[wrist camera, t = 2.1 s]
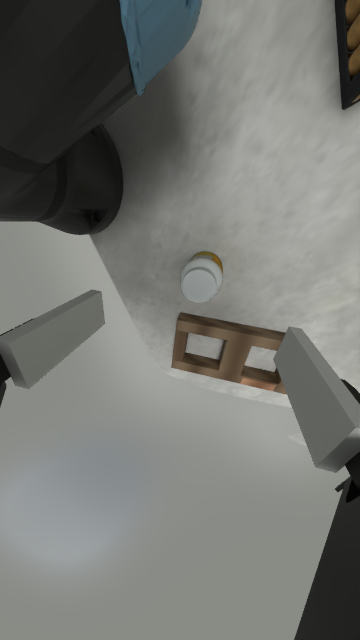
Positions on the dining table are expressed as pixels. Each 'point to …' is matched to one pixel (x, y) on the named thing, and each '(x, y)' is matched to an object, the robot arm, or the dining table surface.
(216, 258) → the supplement bottle
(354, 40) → the ammunition clip
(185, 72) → the dining table surface
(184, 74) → the dining table surface
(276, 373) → the rack
